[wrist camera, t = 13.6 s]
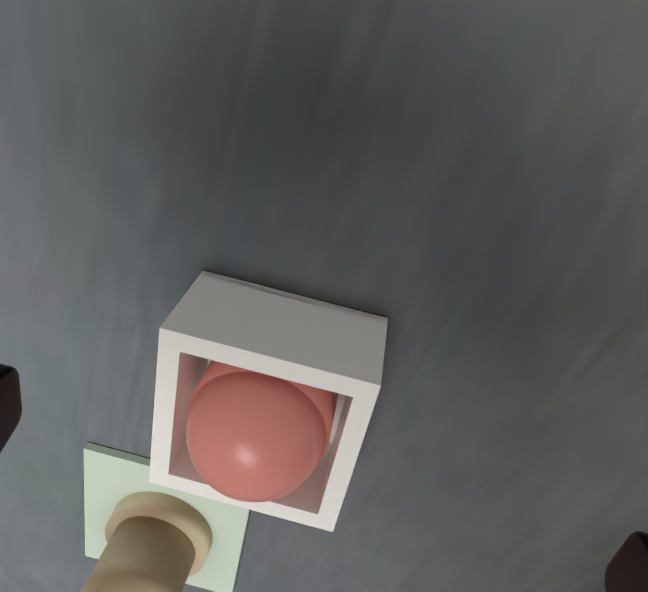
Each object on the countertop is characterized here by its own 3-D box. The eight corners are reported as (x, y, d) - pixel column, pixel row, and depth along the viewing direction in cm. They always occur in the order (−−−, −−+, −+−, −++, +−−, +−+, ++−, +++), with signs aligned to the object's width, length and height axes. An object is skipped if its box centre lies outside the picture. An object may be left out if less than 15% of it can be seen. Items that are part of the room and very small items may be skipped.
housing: (388, 317, 21) (381, 385, 17) (345, 453, 24) (332, 531, 21) (203, 270, 21) (159, 327, 17) (187, 411, 24) (148, 482, 21)
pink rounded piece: (353, 340, 21) (333, 444, 16) (326, 438, 23) (301, 553, 19) (222, 306, 21) (164, 399, 16) (208, 407, 23) (155, 512, 19)
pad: (254, 487, 26) (252, 494, 26) (233, 589, 30) (231, 596, 30) (88, 442, 26) (83, 448, 26) (89, 549, 30) (85, 555, 30)
